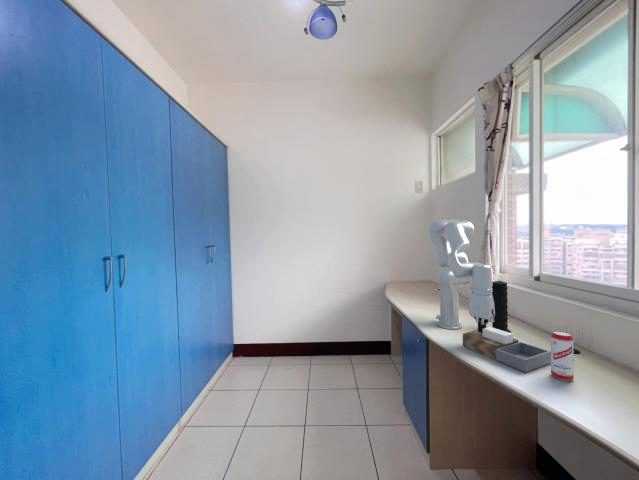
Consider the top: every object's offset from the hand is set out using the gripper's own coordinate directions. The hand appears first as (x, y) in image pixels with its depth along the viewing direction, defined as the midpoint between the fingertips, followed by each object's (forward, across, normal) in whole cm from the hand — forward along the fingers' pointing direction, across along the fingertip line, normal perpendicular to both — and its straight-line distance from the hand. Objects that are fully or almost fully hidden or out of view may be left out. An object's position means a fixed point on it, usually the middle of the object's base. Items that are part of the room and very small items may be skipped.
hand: (482, 332), depth 129 cm
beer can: (+7, +30, 0) cm, 31 cm away
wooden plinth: (+7, +4, 0) cm, 8 cm away
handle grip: (+7, -10, +27) cm, 30 cm away
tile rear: (+1, +5, 0) cm, 5 cm away
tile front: (+1, +10, 0) cm, 10 cm away
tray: (+7, +17, 0) cm, 19 cm away
